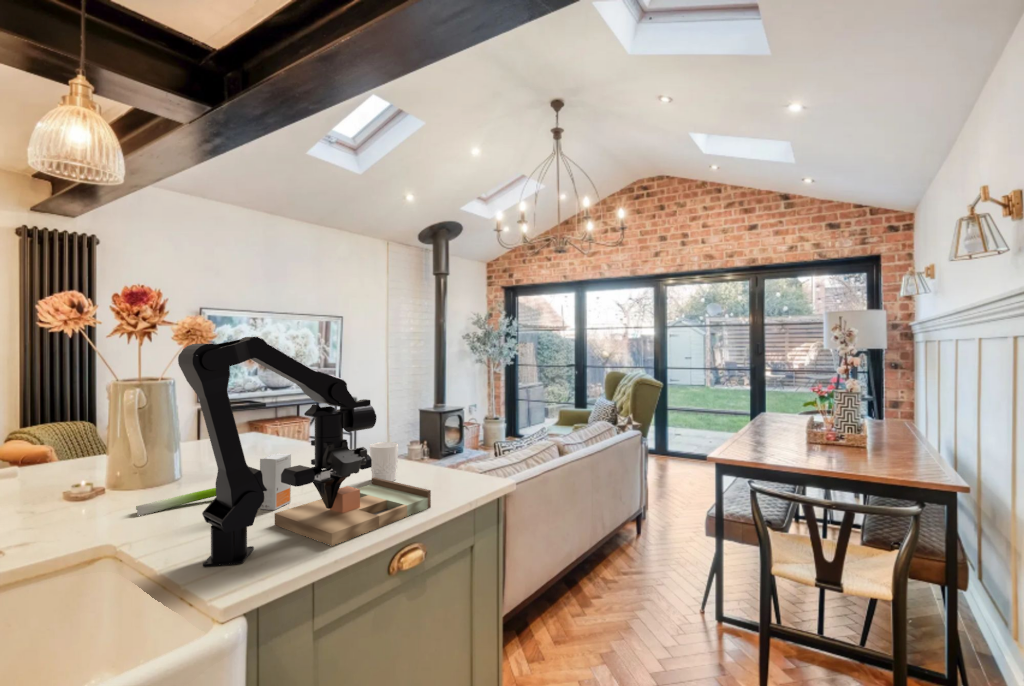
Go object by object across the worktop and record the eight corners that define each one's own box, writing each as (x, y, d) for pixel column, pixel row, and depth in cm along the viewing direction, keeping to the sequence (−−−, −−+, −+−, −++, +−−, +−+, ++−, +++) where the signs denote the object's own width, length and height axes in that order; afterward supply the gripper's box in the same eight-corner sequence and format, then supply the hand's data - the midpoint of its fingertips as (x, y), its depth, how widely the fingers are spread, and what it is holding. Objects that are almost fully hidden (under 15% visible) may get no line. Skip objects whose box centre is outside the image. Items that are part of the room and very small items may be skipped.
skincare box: (275, 510, 114) (274, 459, 114) (259, 509, 115) (258, 458, 115) (291, 502, 120) (291, 453, 120) (276, 501, 121) (276, 452, 121)
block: (342, 513, 105) (342, 494, 105) (329, 509, 108) (329, 490, 108) (360, 507, 109) (359, 489, 109) (347, 503, 111) (347, 486, 111)
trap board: (331, 546, 94) (331, 525, 94) (274, 524, 105) (274, 506, 105) (430, 507, 116) (430, 490, 116) (374, 492, 128) (374, 477, 128)
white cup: (364, 482, 137) (364, 446, 137) (379, 475, 145) (379, 441, 145) (389, 484, 135) (389, 448, 135) (403, 477, 142) (403, 442, 142)
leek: (137, 519, 115) (274, 485, 134) (138, 532, 110) (281, 494, 128) (134, 495, 114) (273, 463, 133) (135, 506, 109) (280, 472, 127)
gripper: (311, 447, 93) (312, 530, 93) (388, 432, 108) (388, 503, 108) (279, 441, 99) (279, 518, 99) (355, 427, 114) (356, 494, 114)
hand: (329, 508), depth 105 cm, fingers closed
